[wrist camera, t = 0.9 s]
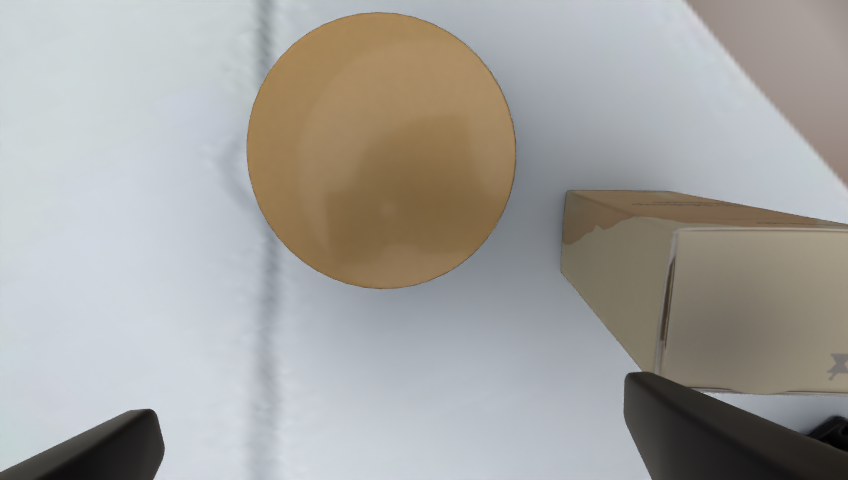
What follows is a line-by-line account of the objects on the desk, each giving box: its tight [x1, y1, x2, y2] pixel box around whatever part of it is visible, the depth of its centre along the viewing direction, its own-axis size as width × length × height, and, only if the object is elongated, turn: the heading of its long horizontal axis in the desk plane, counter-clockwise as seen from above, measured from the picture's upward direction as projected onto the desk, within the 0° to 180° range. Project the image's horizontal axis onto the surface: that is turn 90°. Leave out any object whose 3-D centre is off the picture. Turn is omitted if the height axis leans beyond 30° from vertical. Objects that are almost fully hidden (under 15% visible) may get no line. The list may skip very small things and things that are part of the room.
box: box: [561, 190, 848, 397], centre depth 16 cm, size 5×4×11 cm
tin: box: [247, 12, 516, 289], centre depth 19 cm, size 10×10×4 cm
